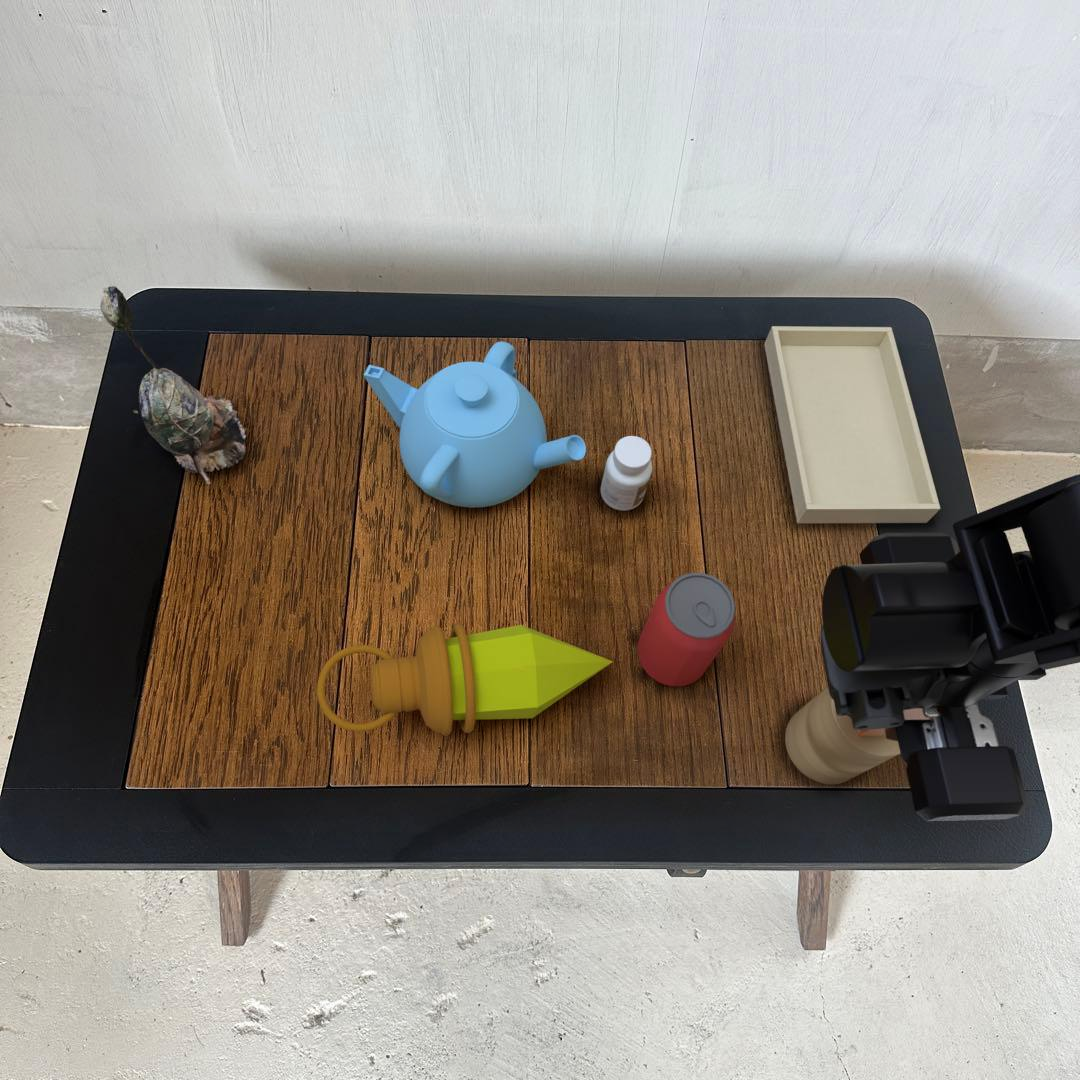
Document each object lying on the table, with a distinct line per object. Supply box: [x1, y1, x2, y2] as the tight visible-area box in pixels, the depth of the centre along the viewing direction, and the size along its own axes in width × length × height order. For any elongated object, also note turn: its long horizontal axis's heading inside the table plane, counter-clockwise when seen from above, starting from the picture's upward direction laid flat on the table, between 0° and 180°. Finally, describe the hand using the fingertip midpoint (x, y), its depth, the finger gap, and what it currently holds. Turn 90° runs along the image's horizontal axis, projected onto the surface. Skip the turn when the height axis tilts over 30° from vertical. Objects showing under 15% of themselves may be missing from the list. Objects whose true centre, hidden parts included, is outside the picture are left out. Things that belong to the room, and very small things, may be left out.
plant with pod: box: [99, 285, 247, 486], centre depth 76 cm, size 8×11×20 cm
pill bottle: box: [600, 435, 653, 512], centre depth 81 cm, size 4×4×8 cm
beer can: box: [637, 572, 736, 687], centre depth 72 cm, size 7×7×12 cm
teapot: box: [363, 340, 587, 508], centre depth 81 cm, size 15×17×11 cm
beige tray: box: [763, 325, 941, 524], centre depth 88 cm, size 22×13×3 cm, turn 2°
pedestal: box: [784, 686, 901, 785], centre depth 69 cm, size 7×7×12 cm
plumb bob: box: [316, 623, 614, 737], centre depth 71 cm, size 9×9×25 cm
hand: (885, 703), depth 63 cm, fingers closed on clay block, 4 cm apart
